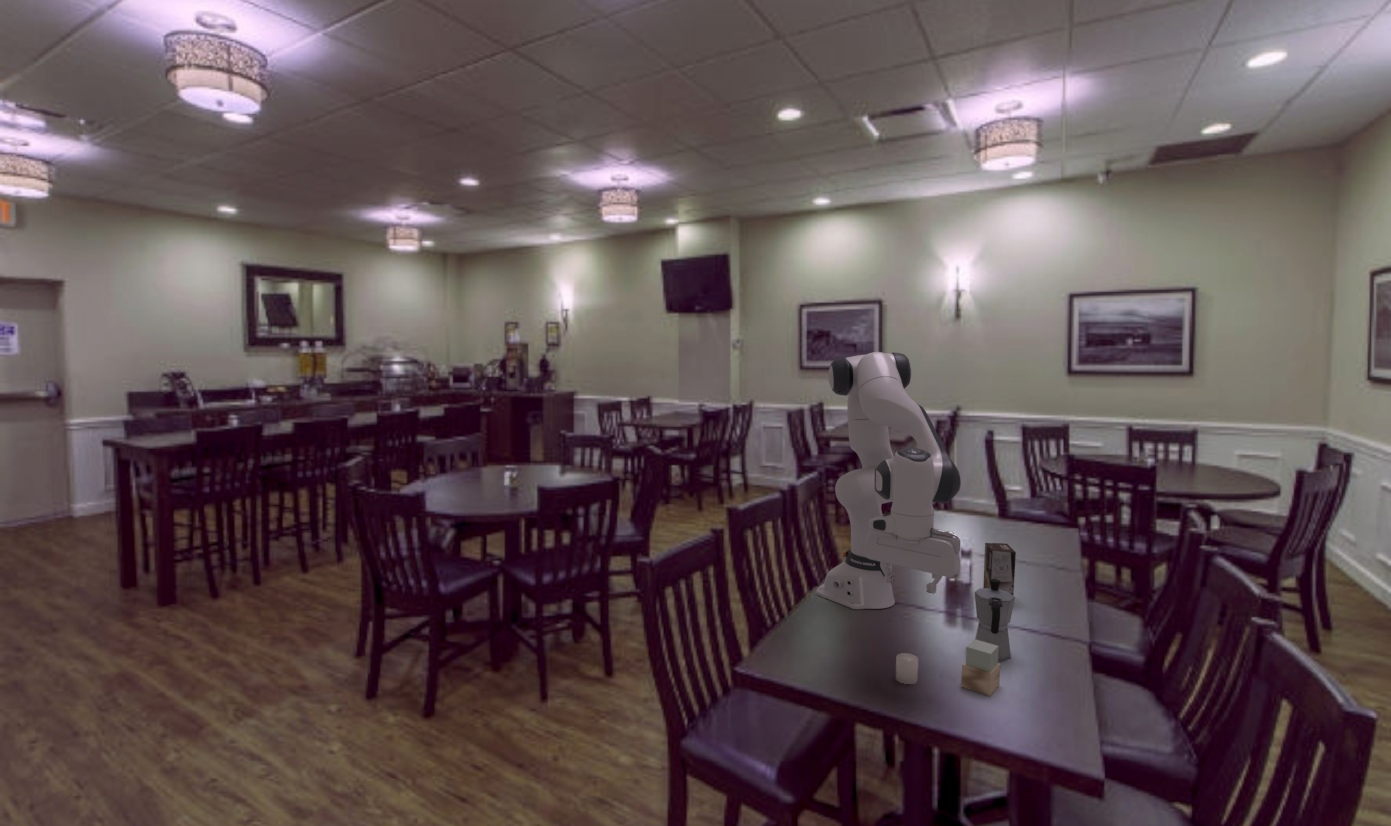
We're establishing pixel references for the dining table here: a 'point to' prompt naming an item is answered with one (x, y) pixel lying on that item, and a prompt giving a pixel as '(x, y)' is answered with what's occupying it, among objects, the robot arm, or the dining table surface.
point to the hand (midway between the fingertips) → (909, 587)
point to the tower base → (980, 679)
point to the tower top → (982, 655)
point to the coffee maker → (994, 617)
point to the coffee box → (999, 566)
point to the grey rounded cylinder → (906, 668)
